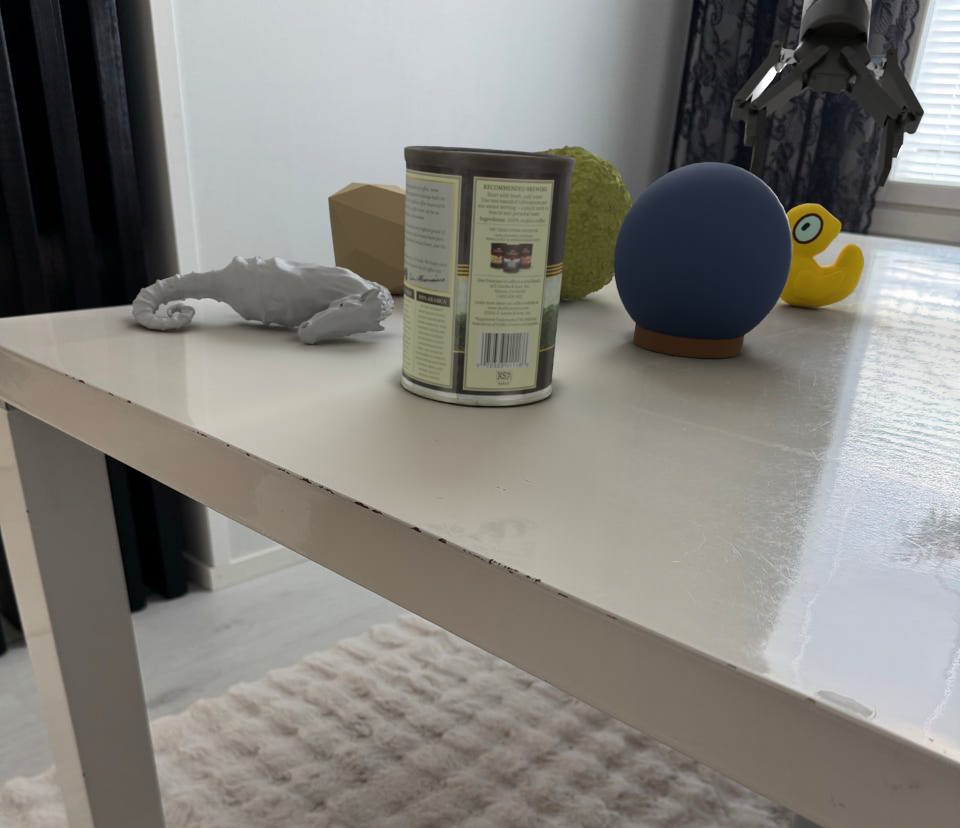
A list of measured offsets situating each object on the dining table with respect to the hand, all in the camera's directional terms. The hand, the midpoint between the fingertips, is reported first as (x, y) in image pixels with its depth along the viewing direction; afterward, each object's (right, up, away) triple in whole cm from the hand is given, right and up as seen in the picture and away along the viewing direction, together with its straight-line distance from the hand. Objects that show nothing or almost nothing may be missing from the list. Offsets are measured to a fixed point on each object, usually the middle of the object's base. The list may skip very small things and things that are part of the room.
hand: (818, 172), depth 104 cm
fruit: (-29, -15, -5) cm, 34 cm away
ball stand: (-19, -26, -23) cm, 40 cm away
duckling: (-2, -15, -1) cm, 15 cm away
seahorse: (-54, -26, -28) cm, 66 cm away
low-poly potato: (-45, -17, -10) cm, 49 cm away
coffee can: (-37, -34, -40) cm, 64 cm away
